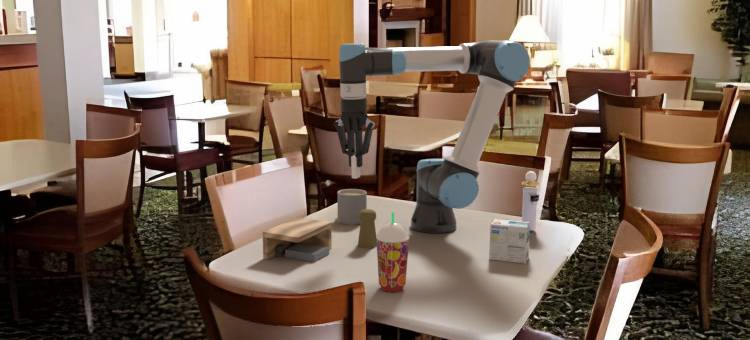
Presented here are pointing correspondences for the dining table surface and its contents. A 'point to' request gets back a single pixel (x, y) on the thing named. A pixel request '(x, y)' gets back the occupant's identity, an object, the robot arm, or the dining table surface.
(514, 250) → the light bulb box
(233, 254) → the dining table surface
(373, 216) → the cork
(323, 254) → the slate board
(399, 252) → the smoothie
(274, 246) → the oak shelf
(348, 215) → the coffee mug
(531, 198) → the perfume bottle
